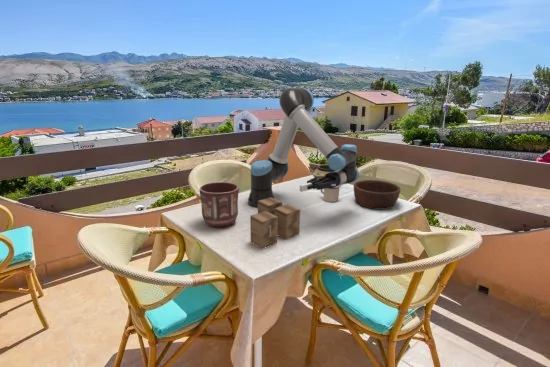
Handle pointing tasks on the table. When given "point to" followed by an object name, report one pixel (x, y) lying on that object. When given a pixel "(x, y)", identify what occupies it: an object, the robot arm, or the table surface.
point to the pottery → (219, 203)
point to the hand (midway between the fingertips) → (300, 188)
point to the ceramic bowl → (322, 171)
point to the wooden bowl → (376, 194)
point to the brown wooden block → (288, 221)
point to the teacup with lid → (331, 194)
